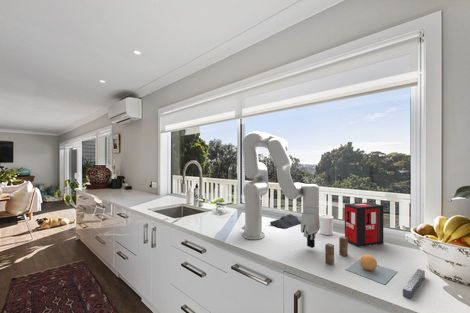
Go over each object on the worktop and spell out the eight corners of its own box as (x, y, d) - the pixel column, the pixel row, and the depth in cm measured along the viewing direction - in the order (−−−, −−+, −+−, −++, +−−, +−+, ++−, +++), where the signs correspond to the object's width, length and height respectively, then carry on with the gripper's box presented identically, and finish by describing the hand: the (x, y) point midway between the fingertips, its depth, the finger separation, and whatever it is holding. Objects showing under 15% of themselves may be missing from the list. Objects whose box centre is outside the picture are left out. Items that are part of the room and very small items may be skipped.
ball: (373, 259, 88) (373, 275, 88) (379, 255, 92) (379, 270, 92) (357, 254, 93) (357, 269, 93) (363, 250, 97) (363, 264, 97)
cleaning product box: (369, 237, 128) (369, 202, 128) (383, 243, 119) (383, 205, 119) (344, 240, 124) (344, 204, 124) (357, 247, 115) (357, 207, 115)
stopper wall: (403, 296, 75) (403, 288, 75) (418, 275, 88) (418, 268, 88) (410, 299, 74) (410, 291, 74) (424, 277, 87) (424, 270, 86)
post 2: (339, 254, 107) (339, 237, 107) (341, 253, 108) (341, 236, 108) (345, 256, 105) (345, 239, 105) (347, 254, 106) (347, 237, 106)
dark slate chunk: (266, 225, 154) (266, 218, 154) (285, 218, 169) (285, 212, 168) (285, 230, 142) (285, 223, 142) (304, 223, 157) (304, 216, 157)
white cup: (316, 232, 138) (316, 215, 138) (326, 230, 141) (326, 214, 141) (325, 236, 131) (325, 218, 130) (336, 234, 133) (336, 217, 133)
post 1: (325, 263, 98) (325, 244, 98) (328, 261, 100) (328, 243, 100) (331, 265, 96) (331, 246, 96) (334, 263, 98) (334, 244, 98)
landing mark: (345, 269, 92) (345, 269, 92) (359, 259, 101) (359, 259, 101) (385, 284, 82) (385, 284, 82) (397, 271, 91) (397, 271, 91)
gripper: (312, 206, 120) (312, 240, 120) (295, 210, 110) (295, 248, 110) (325, 208, 114) (325, 245, 114) (309, 213, 104) (309, 253, 105)
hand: (310, 246), depth 112 cm, fingers closed
